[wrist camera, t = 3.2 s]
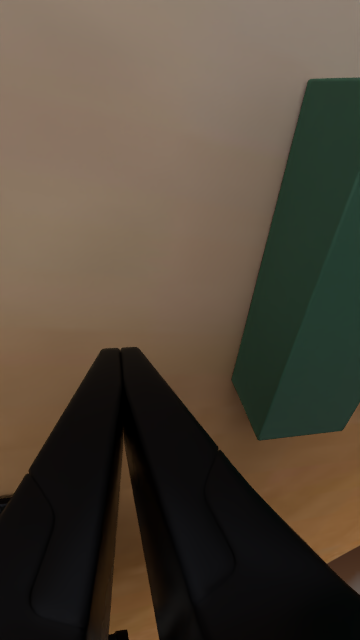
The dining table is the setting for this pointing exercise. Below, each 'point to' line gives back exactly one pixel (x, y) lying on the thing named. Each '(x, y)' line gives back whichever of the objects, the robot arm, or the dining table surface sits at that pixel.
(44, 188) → the dining table surface
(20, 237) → the dining table surface
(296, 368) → the green bar
